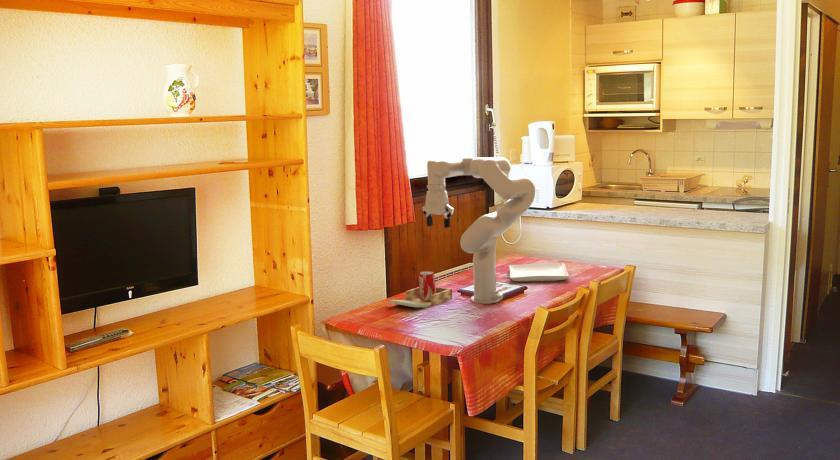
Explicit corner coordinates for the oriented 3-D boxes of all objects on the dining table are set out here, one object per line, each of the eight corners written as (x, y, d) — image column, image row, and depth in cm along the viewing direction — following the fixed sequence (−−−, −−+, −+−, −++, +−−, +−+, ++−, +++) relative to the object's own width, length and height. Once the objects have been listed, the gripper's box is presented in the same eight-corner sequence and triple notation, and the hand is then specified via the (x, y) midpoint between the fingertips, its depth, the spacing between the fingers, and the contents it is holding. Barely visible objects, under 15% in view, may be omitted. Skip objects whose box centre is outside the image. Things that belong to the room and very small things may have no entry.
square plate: (564, 270, 380) (564, 262, 379) (569, 283, 353) (569, 275, 352) (509, 271, 383) (508, 263, 382) (509, 284, 356) (509, 276, 355)
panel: (406, 300, 330) (389, 299, 322) (431, 304, 321) (415, 304, 313) (406, 302, 330) (389, 302, 322) (431, 307, 321) (414, 307, 313)
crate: (425, 295, 341) (424, 284, 340) (452, 300, 331) (451, 289, 330) (406, 302, 331) (405, 291, 330) (433, 307, 322) (432, 295, 321)
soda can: (434, 302, 327) (433, 274, 325) (418, 301, 328) (416, 274, 326) (437, 297, 334) (436, 270, 332) (421, 297, 335) (420, 270, 333)
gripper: (416, 188, 339) (418, 226, 342) (447, 189, 328) (448, 229, 331) (427, 186, 344) (428, 224, 347) (457, 187, 333) (459, 226, 336)
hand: (438, 226), depth 339 cm, fingers open, 9 cm apart
